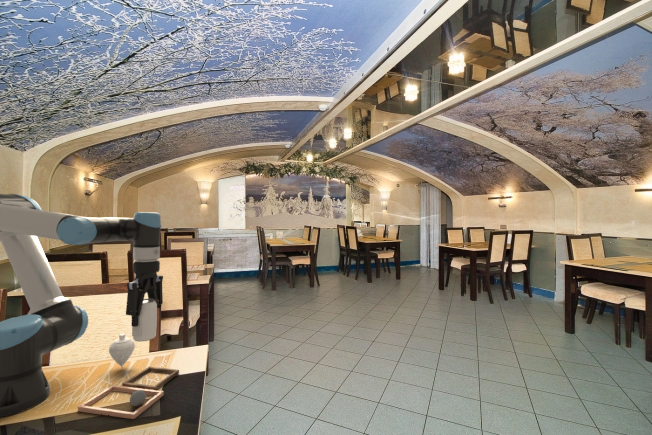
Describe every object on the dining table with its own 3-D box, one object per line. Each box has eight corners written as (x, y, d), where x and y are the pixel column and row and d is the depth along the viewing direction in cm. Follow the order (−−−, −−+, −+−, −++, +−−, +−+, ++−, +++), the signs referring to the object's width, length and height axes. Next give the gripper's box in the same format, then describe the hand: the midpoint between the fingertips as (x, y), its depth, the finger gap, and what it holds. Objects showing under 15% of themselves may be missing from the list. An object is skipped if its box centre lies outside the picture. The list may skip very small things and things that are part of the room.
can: (146, 342, 99) (147, 304, 99) (128, 340, 100) (129, 302, 100) (160, 335, 105) (161, 298, 105) (143, 333, 106) (144, 297, 106)
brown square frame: (122, 387, 100) (122, 383, 100) (149, 370, 112) (149, 366, 112) (155, 391, 98) (155, 387, 98) (179, 373, 110) (179, 369, 110)
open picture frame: (77, 411, 88) (77, 406, 88) (113, 389, 99) (113, 385, 99) (133, 419, 85) (133, 414, 85) (163, 395, 96) (163, 391, 96)
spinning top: (118, 363, 117) (119, 330, 117) (139, 363, 116) (139, 330, 116) (103, 373, 109) (103, 338, 109) (125, 374, 109) (125, 338, 109)
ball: (126, 408, 89) (126, 393, 89) (137, 400, 93) (137, 386, 93) (138, 409, 89) (138, 395, 89) (149, 401, 93) (149, 387, 93)
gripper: (135, 264, 93) (132, 344, 93) (175, 257, 112) (174, 323, 112) (111, 263, 94) (109, 342, 94) (156, 256, 113) (154, 321, 113)
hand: (144, 331), depth 103 cm, fingers closed on can, 6 cm apart
